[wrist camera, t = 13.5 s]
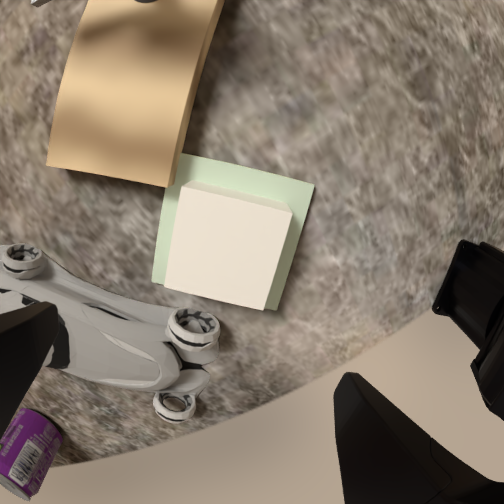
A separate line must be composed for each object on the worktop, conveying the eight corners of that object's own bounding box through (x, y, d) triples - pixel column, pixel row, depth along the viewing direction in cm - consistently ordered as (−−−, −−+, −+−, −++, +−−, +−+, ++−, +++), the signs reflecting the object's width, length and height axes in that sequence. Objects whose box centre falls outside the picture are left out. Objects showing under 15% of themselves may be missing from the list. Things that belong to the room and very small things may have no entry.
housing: (175, 183, 19) (166, 187, 17) (62, 162, 18) (45, 165, 16) (236, -31, 14) (235, -46, 12) (119, -33, 13) (109, -45, 11)
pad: (276, 307, 22) (276, 310, 21) (153, 279, 21) (151, 281, 21) (313, 184, 19) (314, 185, 19) (174, 151, 18) (172, 151, 18)
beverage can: (15, 397, 27) (-26, 458, 16) (55, 414, 28) (16, 485, 16) (32, 430, 30) (0, 486, 18) (70, 445, 30) (42, 510, 19)
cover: (261, 288, 21) (263, 310, 18) (175, 267, 20) (164, 286, 18) (286, 202, 19) (292, 213, 16) (192, 180, 18) (181, 186, 16)
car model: (201, 405, 26) (194, 446, 21) (-6, 320, 24) (-32, 344, 19) (233, 311, 22) (229, 353, 18) (-14, 223, 20) (-50, 240, 15)
